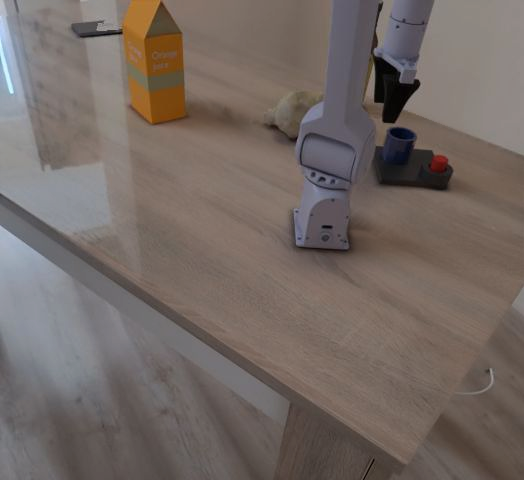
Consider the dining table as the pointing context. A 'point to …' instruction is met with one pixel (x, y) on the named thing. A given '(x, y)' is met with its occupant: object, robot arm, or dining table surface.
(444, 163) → the button
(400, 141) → the blue plastic cup
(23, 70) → the dining table surface
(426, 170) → the scale
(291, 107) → the ginger root
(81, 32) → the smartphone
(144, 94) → the orange juice
